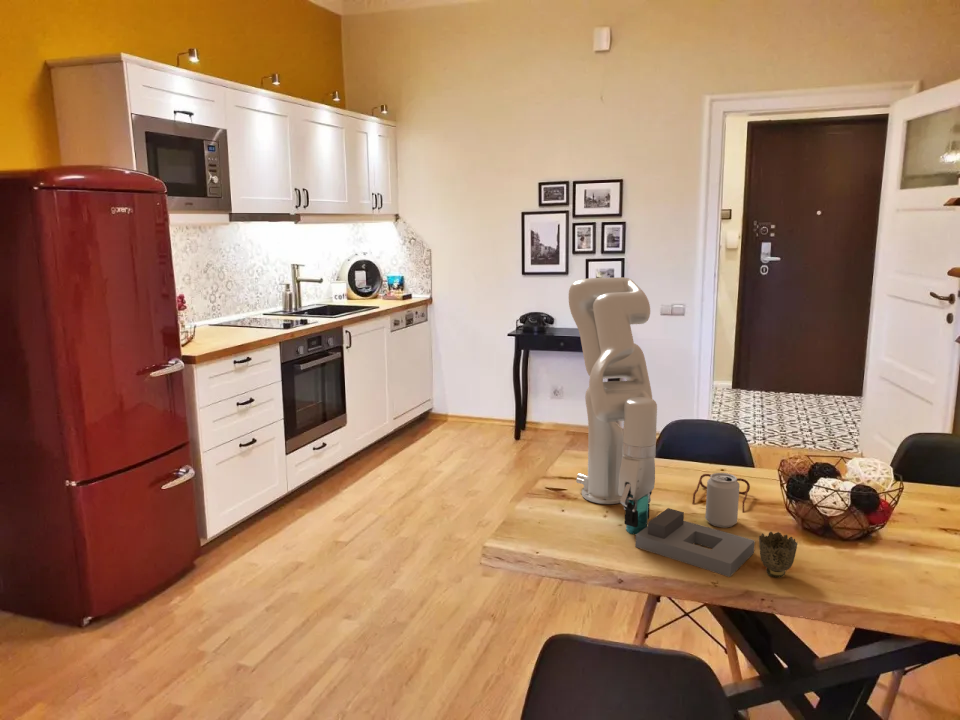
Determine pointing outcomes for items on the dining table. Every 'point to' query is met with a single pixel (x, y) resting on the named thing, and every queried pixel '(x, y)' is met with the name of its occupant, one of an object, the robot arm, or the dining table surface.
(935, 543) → the dining table surface
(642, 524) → the teal translucent cylinder
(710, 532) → the plate
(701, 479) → the glasses
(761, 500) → the dining table surface
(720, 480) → the can
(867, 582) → the dining table surface
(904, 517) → the dining table surface
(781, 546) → the cup
